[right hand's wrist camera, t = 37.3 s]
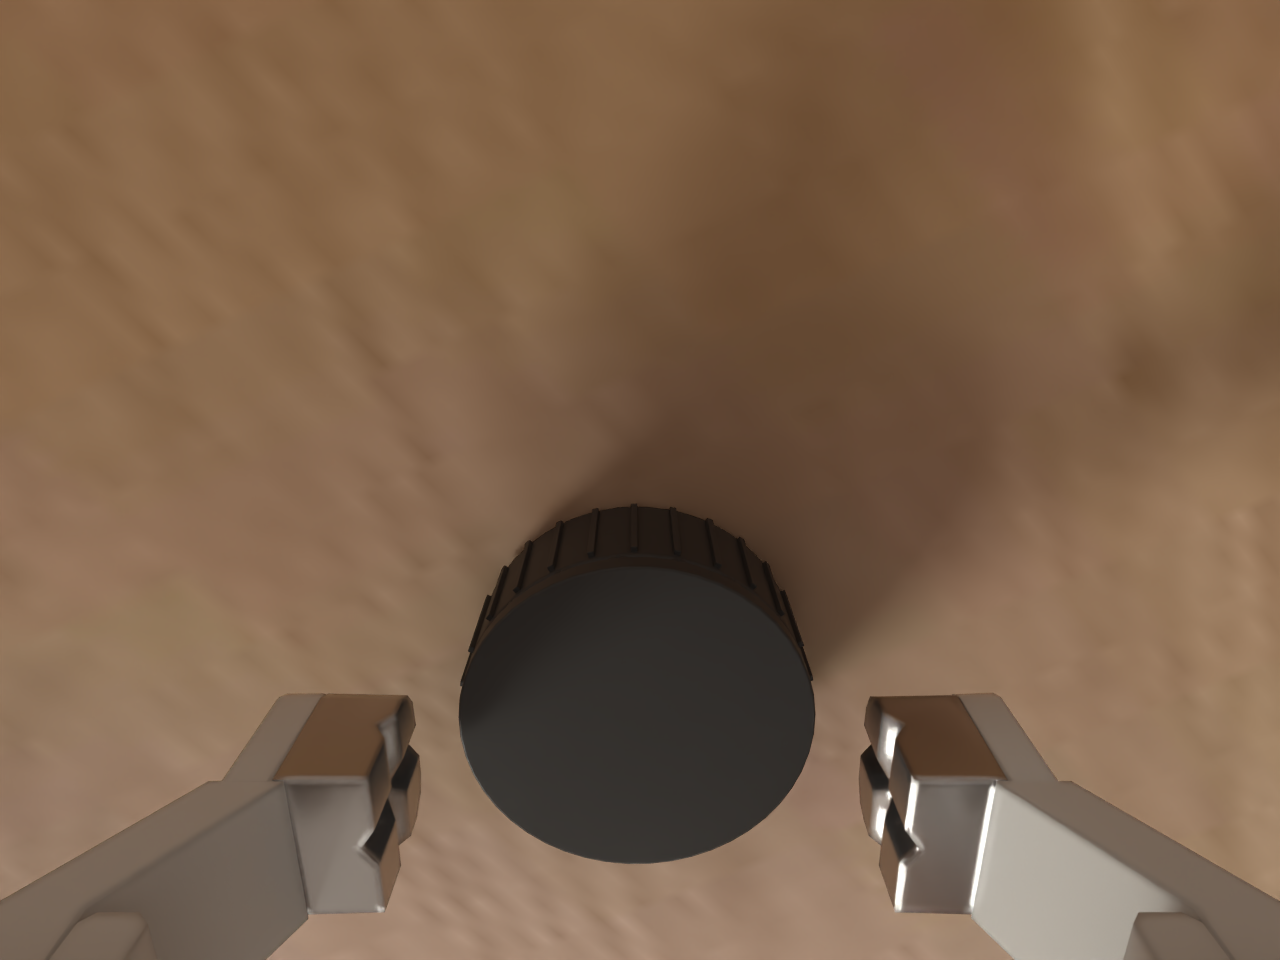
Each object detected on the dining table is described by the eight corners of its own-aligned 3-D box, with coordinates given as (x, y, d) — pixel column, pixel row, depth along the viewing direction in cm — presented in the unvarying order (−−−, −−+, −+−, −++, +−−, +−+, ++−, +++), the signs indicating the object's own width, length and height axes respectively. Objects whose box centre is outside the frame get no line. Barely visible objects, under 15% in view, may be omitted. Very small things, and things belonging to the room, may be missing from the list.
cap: (850, 680, 13) (886, 765, 11) (598, 818, 14) (593, 918, 12) (682, 438, 11) (691, 491, 10) (414, 610, 12) (377, 687, 11)
